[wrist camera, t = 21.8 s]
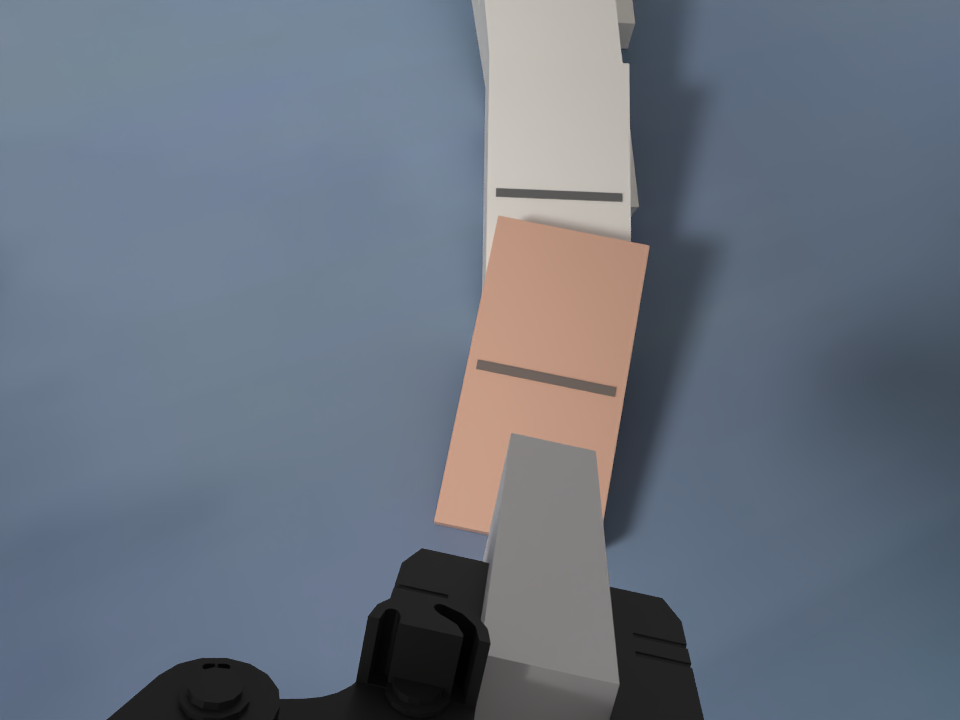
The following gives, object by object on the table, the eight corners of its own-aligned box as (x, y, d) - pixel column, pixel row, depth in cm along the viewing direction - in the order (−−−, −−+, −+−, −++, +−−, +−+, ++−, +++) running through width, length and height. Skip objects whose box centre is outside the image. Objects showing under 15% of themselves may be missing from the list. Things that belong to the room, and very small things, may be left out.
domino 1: (639, 206, 34) (610, -45, 35) (504, 213, 33) (481, -42, 35) (628, 220, 35) (601, -20, 37) (499, 227, 35) (477, -16, 36)
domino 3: (598, 555, 28) (650, 245, 30) (433, 521, 28) (498, 214, 30) (589, 555, 29) (639, 262, 31) (435, 524, 29) (496, 233, 32)
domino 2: (632, 339, 31) (629, 62, 33) (485, 334, 31) (489, 55, 32) (620, 347, 33) (618, 84, 34) (481, 343, 33) (485, 77, 34)
